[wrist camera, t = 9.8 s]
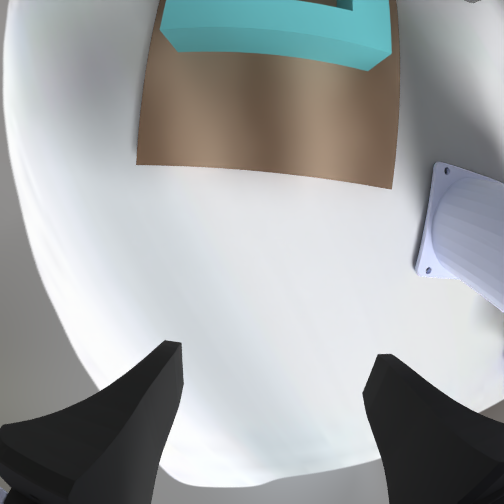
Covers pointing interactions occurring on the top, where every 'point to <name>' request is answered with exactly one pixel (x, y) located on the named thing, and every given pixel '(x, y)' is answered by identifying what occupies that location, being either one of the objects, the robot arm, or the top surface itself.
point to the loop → (283, 29)
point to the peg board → (271, 112)
